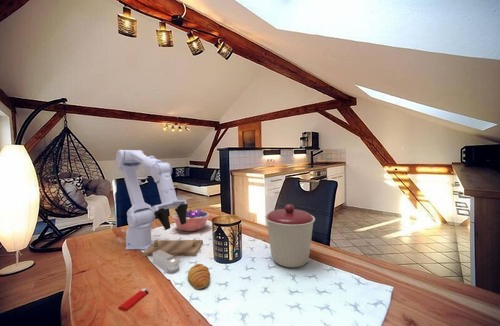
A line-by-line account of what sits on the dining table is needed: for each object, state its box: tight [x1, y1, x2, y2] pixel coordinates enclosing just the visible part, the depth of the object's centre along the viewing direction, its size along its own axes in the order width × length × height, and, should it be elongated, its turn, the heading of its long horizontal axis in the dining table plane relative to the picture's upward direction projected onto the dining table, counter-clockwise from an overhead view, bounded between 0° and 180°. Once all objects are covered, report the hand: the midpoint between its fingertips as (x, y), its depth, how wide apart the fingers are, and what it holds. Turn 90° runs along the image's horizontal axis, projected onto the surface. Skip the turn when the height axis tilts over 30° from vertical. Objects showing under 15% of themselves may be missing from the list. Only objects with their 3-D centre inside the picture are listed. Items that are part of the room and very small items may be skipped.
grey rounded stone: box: [152, 250, 180, 275], centre depth 74 cm, size 12×4×4 cm, turn 54°
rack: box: [142, 238, 204, 257], centre depth 88 cm, size 21×12×4 cm, turn 89°
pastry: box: [186, 263, 211, 290], centre depth 65 cm, size 9×7×4 cm
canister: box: [264, 203, 316, 268], centre depth 77 cm, size 18×18×21 cm
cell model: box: [171, 208, 210, 232], centre depth 112 cm, size 17×20×11 cm
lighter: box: [118, 287, 149, 312], centre depth 57 cm, size 3×1×8 cm
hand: (176, 226), depth 78 cm, fingers open, 7 cm apart
